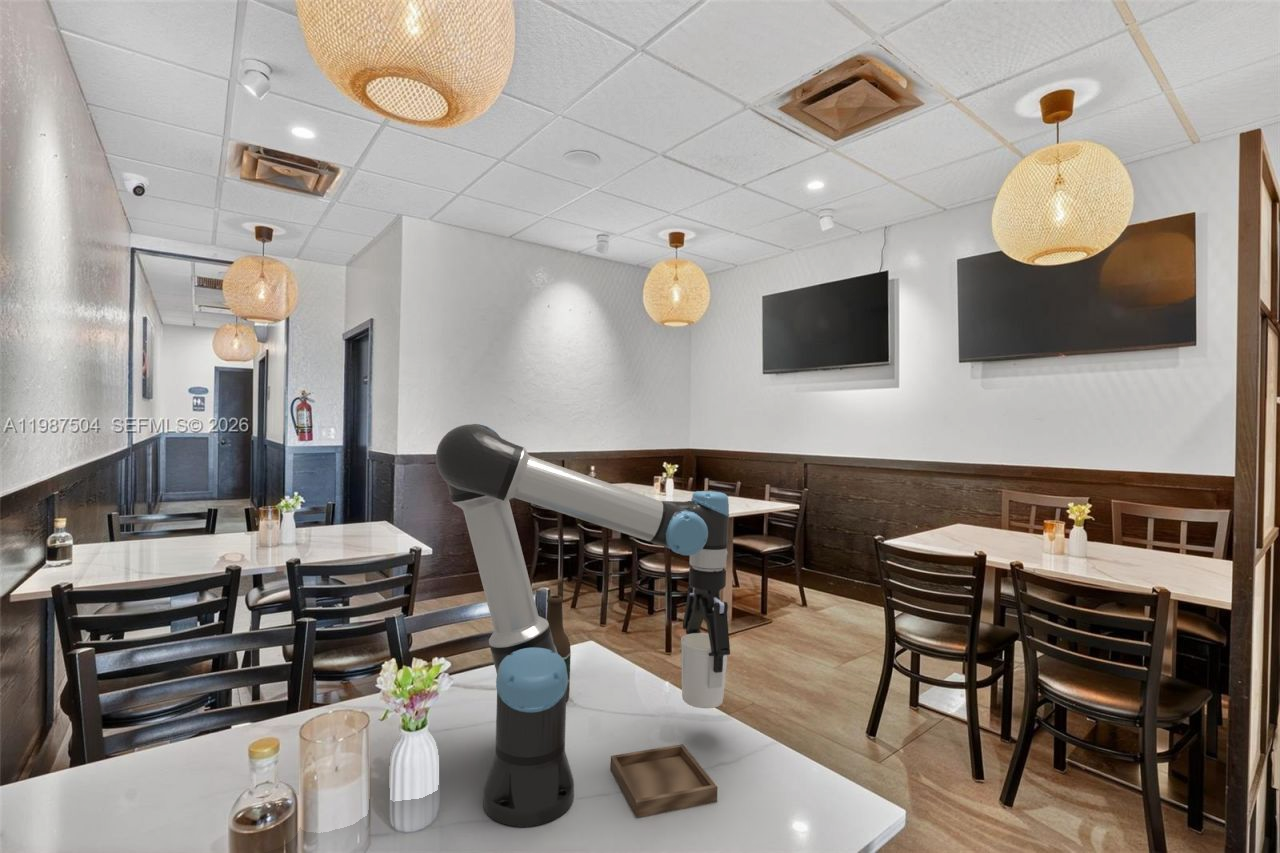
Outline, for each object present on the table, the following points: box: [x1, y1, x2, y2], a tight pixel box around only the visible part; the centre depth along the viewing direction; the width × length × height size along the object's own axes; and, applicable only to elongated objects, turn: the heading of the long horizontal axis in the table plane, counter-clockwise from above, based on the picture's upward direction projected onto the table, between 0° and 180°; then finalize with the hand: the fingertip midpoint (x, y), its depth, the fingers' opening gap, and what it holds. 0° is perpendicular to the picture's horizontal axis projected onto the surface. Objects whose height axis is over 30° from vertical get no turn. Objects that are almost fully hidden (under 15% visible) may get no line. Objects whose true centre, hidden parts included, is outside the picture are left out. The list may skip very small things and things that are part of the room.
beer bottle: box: [546, 594, 572, 703], centre depth 138 cm, size 8×8×24 cm
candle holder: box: [680, 632, 728, 709], centre depth 123 cm, size 10×10×12 cm
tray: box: [609, 743, 718, 819], centre depth 107 cm, size 15×15×2 cm
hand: (703, 676), depth 123 cm, fingers closed on candle holder, 10 cm apart
